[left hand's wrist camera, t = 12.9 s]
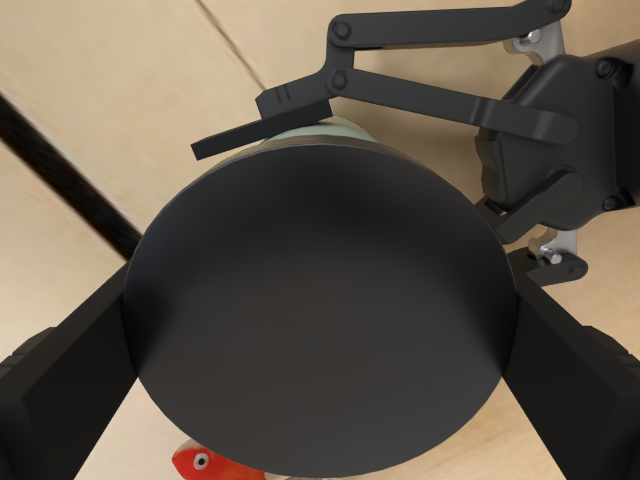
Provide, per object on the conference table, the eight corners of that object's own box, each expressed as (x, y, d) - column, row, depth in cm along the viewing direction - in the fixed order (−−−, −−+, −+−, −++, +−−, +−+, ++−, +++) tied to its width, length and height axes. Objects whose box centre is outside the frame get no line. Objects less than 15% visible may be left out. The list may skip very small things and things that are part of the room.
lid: (77, 219, 11) (36, 242, 9) (438, 67, 10) (462, 63, 8) (242, 466, 15) (233, 512, 13) (522, 383, 13) (550, 423, 12)
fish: (279, 378, 26) (252, 570, 20) (371, 428, 37) (371, 564, 31) (168, 389, 31) (121, 548, 25) (278, 431, 42) (263, 550, 36)
